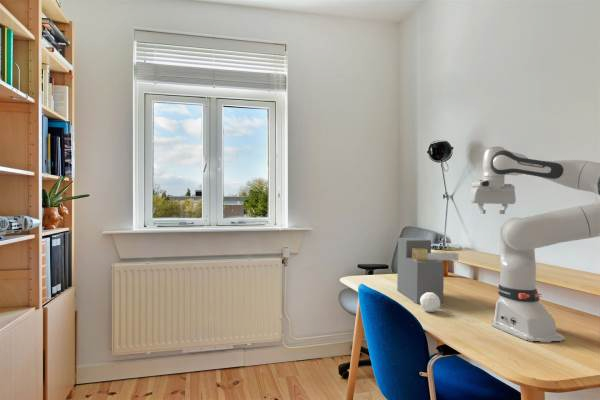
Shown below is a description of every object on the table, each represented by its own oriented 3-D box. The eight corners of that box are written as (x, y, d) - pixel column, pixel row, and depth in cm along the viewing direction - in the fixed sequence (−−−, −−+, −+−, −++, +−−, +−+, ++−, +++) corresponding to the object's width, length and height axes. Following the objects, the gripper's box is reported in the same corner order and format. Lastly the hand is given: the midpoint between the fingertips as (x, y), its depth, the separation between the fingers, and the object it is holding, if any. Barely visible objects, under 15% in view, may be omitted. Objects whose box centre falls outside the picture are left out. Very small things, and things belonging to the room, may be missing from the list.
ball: (425, 316, 147) (423, 297, 152) (445, 313, 143) (441, 293, 148) (417, 310, 143) (415, 291, 148) (437, 306, 139) (434, 287, 143)
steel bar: (459, 260, 161) (459, 249, 161) (416, 260, 159) (416, 249, 159) (453, 258, 166) (453, 247, 166) (411, 258, 164) (412, 247, 164)
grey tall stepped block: (443, 303, 157) (444, 243, 156) (416, 303, 155) (417, 243, 155) (420, 290, 178) (421, 238, 178) (397, 290, 177) (398, 237, 177)
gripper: (509, 184, 167) (509, 213, 167) (468, 183, 165) (467, 213, 165) (519, 183, 161) (518, 214, 161) (476, 182, 159) (475, 213, 159)
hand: (492, 213), depth 163 cm, fingers open, 8 cm apart
